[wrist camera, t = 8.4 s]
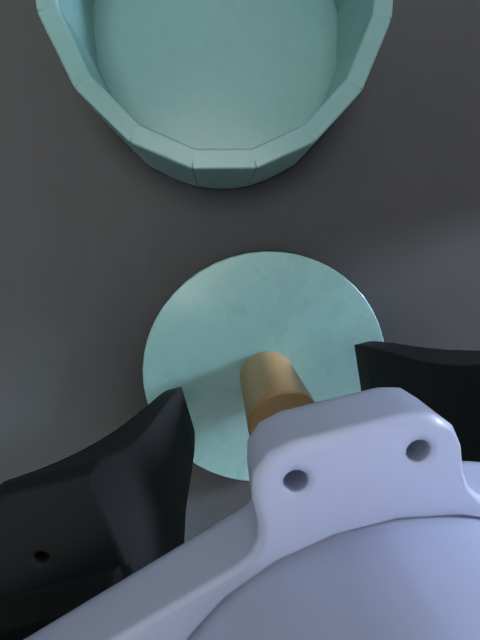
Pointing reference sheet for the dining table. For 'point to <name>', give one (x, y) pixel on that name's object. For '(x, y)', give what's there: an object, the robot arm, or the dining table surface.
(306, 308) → the tin lid
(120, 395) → the dining table surface
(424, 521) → the robot arm
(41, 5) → the tin
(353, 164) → the dining table surface
